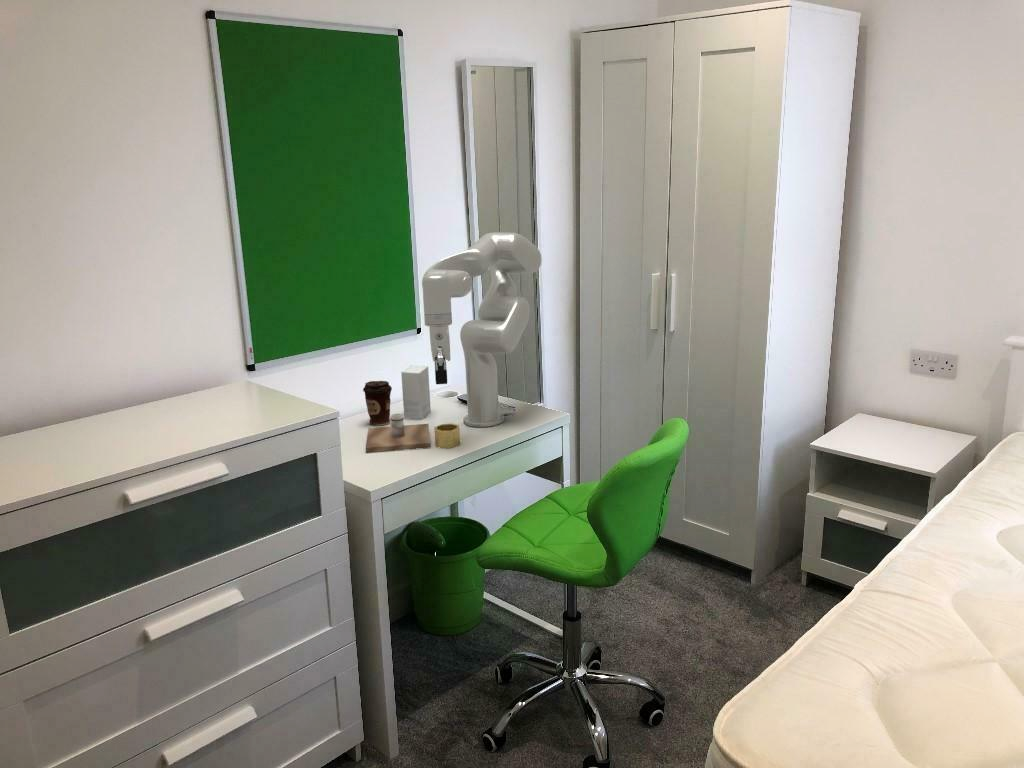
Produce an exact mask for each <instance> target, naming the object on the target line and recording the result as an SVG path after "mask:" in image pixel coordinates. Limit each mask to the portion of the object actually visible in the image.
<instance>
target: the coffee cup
mask: <svg viewBox="0 0 1024 768" xmlns="http://www.w3.org/2000/svg"><path fill="white" fill-rule="evenodd" d="M392 390H393V388H392V386H391V385H390V382H389V381H387V380H371V381H367V382H365V385H364V387H363V388H362V392H364V398H365V405H366V408H367V410H366V411H367V414H368V416H369V424H370V425H373V426H386V425H389V424H391V420H390V418H391V393H392Z"/></svg>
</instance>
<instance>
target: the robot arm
mask: <svg viewBox="0 0 1024 768" xmlns="http://www.w3.org/2000/svg"><path fill="white" fill-rule="evenodd" d="M541 265H542V254H541V251H540V250H539V247H537V246H536V245H535V244H534V243H533V242H531V241H530V240H529V239H527V238H526V237H525V236H523V235H522V234H519V233H517V232H505V231H504V232H498V231H496V232H495V231H494V232H488V233H486V234H485V233H484V235H482V236H481V237H480V238H479V239H478V240H477V241H476V242H474V243H473V244H472V245H471V246H469V247H468V248H467V249H466V250H464V251H460V252H457V253H455V254H452V255H449V256H447V257H445V258H441V259H440V260H438V261H436V262H434V264H432V265H431V266H429V268H428V269H427V270H426V272H424V274H423V276H422V279H421V286H422V300H423V303H422V304H423V318H424V319H423V320H424V326H426V327H428V329H429V342H430V350H431V357H432V362H434V375H435V379H434V380H435V384H436V385H447V384H448V369H447V361H448V362H450V361H451V343H450V342H451V341H450V330H449V329H450V328H449V326H450V325H452V324H453V317H452V315H453V314H452V299H453V298H464V297H465V296H468V294H470V293H471V291H472V289H473V283H474V281H473V279H472V278H476V277H480V276H483V275H484V274H485V273H487V271H489V272H490V281H491V282H490V286H489V288H488V290H487V291H486V294H485V296H484V297H483V299H482V301H481V303H480V305H479V307H478V310H477V318H478V319H472V320H468V321H467V322H465V323H464V324H463V325H462V326H461V329H460V331H459V333H460V334H459V338H460V343H461V347H462V351H463V355H464V366H465V382H466V385H465V386H466V399H467V401H466V402H467V414H466V415H465V416H464V417H463V418H462V420H463V424H464V425H466V426H469V427H473V428H475V427H476V428H486V427H492V426H493V427H494V426H497V425H500V424H502V423H504V421H505V415H506V416H507V415H510V416H511V415H514V414H515V409H514V407H510V408H509V406H504V407H501V406H500V404H499V392H498V391H499V390H498V389H499V388H498V366H497V362H496V359H495V357H494V356H493V354H510V353H512V352H513V351H514V350H515V349H516V348H517V346H518V343H519V341H520V340H521V337H522V336H523V334H524V331H525V330H526V327H527V325H528V322H529V319H530V315H531V309H530V304H529V301H528V300H527V299H526V298H525V297H522V296H518V295H517V290H518V289H517V286H516V283H515V281H514V280H513V279H512V278H511V276H510V274H533V273H536V272H538V271H539V270H540V268H541Z"/></svg>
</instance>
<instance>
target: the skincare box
mask: <svg viewBox="0 0 1024 768" xmlns="http://www.w3.org/2000/svg"><path fill="white" fill-rule="evenodd" d="M400 373H401V374H400V375H401V388H402V389H401V390H402V403H403V417H404V419H405V418H410V419H409V420H421V419H422V420H423V419H424V418H426V417H427V415H429V414H430V413H431V412H432V411H431V410H432V409H431V397H430V396H431V394H430V392H431V391H430V377H429V376H430V375H429V365H413V364H412V365H409V366H408V367H406V368H405V369H403V370H402V371H401V372H400Z"/></svg>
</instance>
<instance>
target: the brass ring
mask: <svg viewBox="0 0 1024 768" xmlns="http://www.w3.org/2000/svg"><path fill="white" fill-rule="evenodd" d="M433 429H434V444H435V447H436V448H438V447H440V448H439V449H442V448H446V449H453V448H454V447H455V448H456V446H457V447H459V446H461V445H462V444H461V430H460V425H459V424H455V423H441V424H439V425H435V426H434V428H433ZM455 448H454V449H455Z"/></svg>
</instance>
